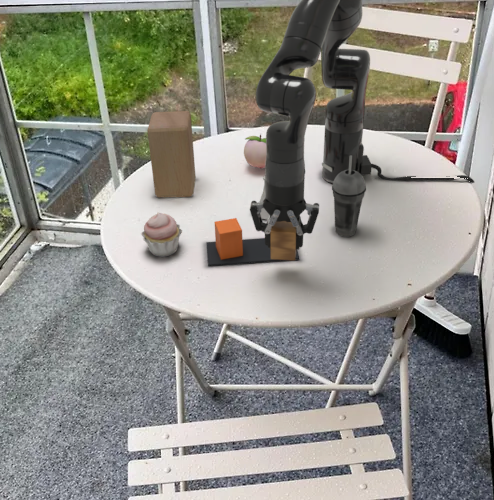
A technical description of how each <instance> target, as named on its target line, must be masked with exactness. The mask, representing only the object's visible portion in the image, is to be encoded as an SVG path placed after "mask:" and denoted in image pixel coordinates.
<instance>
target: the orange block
mask: <svg viewBox="0 0 494 500" xmlns="http://www.w3.org/2000/svg"><path fill="white" fill-rule="evenodd" d="M214 237H215V239H214V240H215V242H216V248H217V251H218V253H219V256H220V258H221V260H223V259H228V258H234V257H239V256H243V243H242V240H243V229H242V227H241V225H240V222H239V221H238V218H237V217H234V218H227V219H222V220H215V221H214Z"/></svg>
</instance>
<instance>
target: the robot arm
mask: <svg viewBox="0 0 494 500" xmlns="http://www.w3.org/2000/svg"><path fill="white" fill-rule="evenodd" d="M362 19H363V0H300V2H299V3H298V4H297V5H296V7H295V8H294V9H293V12H292V14H291V16H290V18H289V20H288V23H287V27H286V29H285V33H284V36H283V38H282V42H281V44H280V46H279V49H278V50H277V52H276V54H275V55H274V56H273V58H272V59H271V62H270V63H269V64H268V66H267V68H265V71H264V72H263V74H262V75H261V76H260V78H259V80H258V81H257V85H256V88H255V94H254V95H255V96H254V97H255V98H254V99H255V103H256V105H257V108H258V109H259V110H261V111H262V112H265V113H268V114H273V115H280V116H284V117H289V120H281V121H277V122H274V123H272V124H270V125H269V126H268V128H267V130H266V133H265V138H266V162H265V168H264V176H265V199H264V201H263V202H259V201H258V202H257V201H256V200H252V201H251V202H250V207H249V212H250V215H251V218H252V222H253V225H254V228H255V231H257V232H262V233H264V238H265V245H268V248H271V228H273V227H274V225H275V223H276V222H281V221H286V222H291V223H292V225H293V227H294V228H295V229H296V250H298V251H299V250H300V248H302V247H303V245H304V235H305V234H308V235H311V234H313V231H314V228H315V225H316V222H317V219H318V216H319V214H320V204H319V202H315V203H313V204H311V203H307V201H306V199H305V178H306V177H305V174H306V164H305V135H306V131H307V128H308V124H309V120H310V117H311V114H312V111H313V109H314V106H315V103H316V99H317V90H316V87H315V84H314V83H313V81H312V80H311V79H309V78H307V77H304V76H297V75H291V74H292V73H293V72H295V71H296V70H300V69H307V68H312V67H314V66H315V65H316V64H317V63H318V60H319V58H320V75H321V82H322V84H323V85H324V87H326V88H328V89H332V90H343V91H344V90H346V91H350V92H349V93H347V94H343V95H341V96H337V97H334V98H332V99H330V100H329V101H328V102H327V103H326V106H325V118H324V135H323V136H324V138H323V139H324V140H323V154H322V156H323V158H322V163H321V167H322V171H321V176H322V179H323V180H324V181H326V182H327V183H330V184H333V182H334V179H335V178H336V176H337V175H338V174H339V173H340V172H342V171H344V170H349V158H350V155H351V156H352V165H351V170H355V171H357V172H359V173H360V174H361V175H362V176H370V175H372V169H374V170H376V171H377V173H376V174H377V177H378V178H379V179H381V180H384V181H392V182H393V181H394V182H402V181H457V180H458V179H454V178H411V177H416V176H417V175H407V177H406V176H405V175H404V176H397V177H388V176H385V175H384V174H382V172H383V171H382V168H381V167H380V166H379V165H377V164H374V163H371V161H370V159H369V158H370V157H368V155H367V154H364V150H365V149H364V148H365V146H364V145H363V132H364V121H365V111H366V99H367V98H366V97H367V90H368V84H369V83H368V82H369V76H370V68H371V56H370V53H369V51H368V50H366V49H359V48H340V47H341V46H342V45H343V44H344V43H345V42H346V41H347V40H348V39H349V38H350V37H352V35H353V34H354V33H355V32H356V30H357V29H358V28H359V26H360V24H361V22H362ZM456 176H457V177H460V178H464V179H463V180H465V181H467V182H469V181H470V182H469V183H470V184H475V180H474V179H473V178H472V177H471V176H469V175H465V174H459V175H456ZM465 178H466V179H465ZM467 178H468V179H467ZM262 208H264V209H265V210H266V212H267V213H268V214H269V218H268V220H267V221H266V222H264V221H263V219H262V218H261V214H260V213H261V211H262ZM304 211H306V214H307V215H308V220H307V222H306V223H303V221H302V217H301V215H302V214H303V213H304Z"/></svg>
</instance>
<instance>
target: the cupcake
mask: <svg viewBox="0 0 494 500" xmlns="http://www.w3.org/2000/svg"><path fill="white" fill-rule="evenodd" d="M180 227H181V225H180V224H178V223H177V221H176V220H175V218H174V217H173V216H172V215H170V214H167V213H162V212H160V211H159V212H158V211H157V213H156V214H154V215H152V216H151V217H150V218H148V220H147V221H146V222H145V223H144V225H143V231H142V232H141V233H140V235H141V236H142V237H143V238H142V240H143V241H144V243H146V245H147V248H148V250H149V252H150V253H151V254H152V255H153V256H156V257H162V258H163V257H169V256H171V255H174V254H175V252H176V251H177V250H178V247H179V241H180V237H181V235H182V232H183V229H182V228H180Z"/></svg>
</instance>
